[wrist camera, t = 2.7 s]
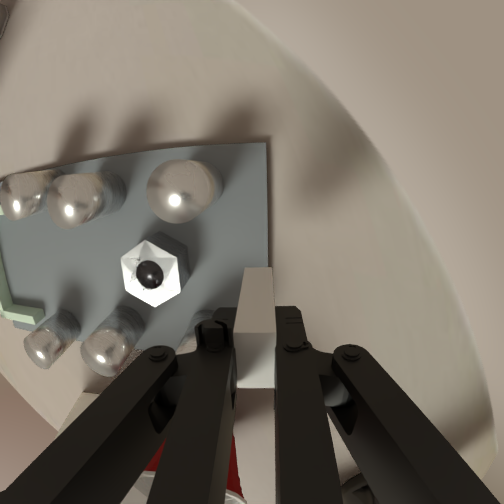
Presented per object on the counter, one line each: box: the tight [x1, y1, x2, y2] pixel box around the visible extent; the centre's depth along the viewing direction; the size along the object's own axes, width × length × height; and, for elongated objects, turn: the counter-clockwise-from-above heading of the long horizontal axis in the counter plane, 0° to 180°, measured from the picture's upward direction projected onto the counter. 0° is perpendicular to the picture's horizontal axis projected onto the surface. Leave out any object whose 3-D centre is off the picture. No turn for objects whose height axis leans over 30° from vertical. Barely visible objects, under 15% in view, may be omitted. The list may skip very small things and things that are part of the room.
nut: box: [121, 231, 190, 307], centre depth 21 cm, size 5×4×3 cm
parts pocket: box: [0, 205, 45, 325], centre depth 23 cm, size 13×7×2 cm, turn 1°
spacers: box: [0, 159, 223, 377], centre depth 20 cm, size 18×20×6 cm
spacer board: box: [0, 143, 268, 353], centre depth 24 cm, size 18×32×1 cm, turn 91°
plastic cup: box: [133, 434, 247, 504], centre depth 23 cm, size 11×11×12 cm
